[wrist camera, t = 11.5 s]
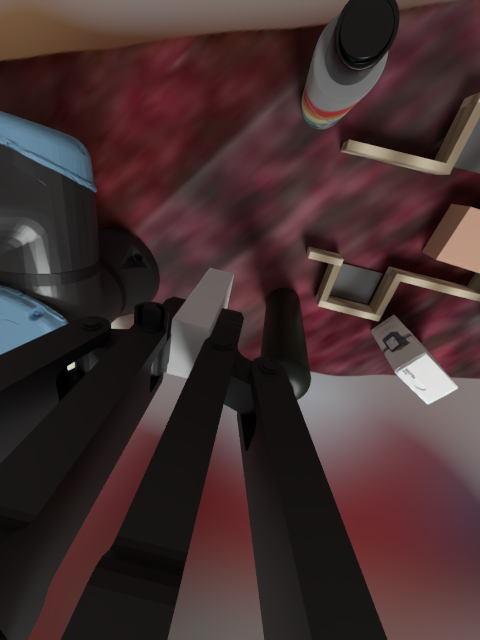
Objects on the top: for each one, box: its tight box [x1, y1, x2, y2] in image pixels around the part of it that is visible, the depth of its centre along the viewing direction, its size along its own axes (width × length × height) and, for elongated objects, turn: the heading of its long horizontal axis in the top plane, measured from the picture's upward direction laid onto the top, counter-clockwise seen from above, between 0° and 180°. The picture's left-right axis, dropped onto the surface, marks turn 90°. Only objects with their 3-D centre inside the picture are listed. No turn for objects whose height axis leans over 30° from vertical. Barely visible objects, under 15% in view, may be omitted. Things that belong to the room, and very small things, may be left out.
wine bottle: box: [260, 288, 311, 400], centre depth 35 cm, size 6×6×30 cm
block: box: [422, 204, 480, 273], centre depth 37 cm, size 7×7×4 cm
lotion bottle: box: [301, 0, 399, 129], centre depth 26 cm, size 6×6×20 cm
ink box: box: [371, 315, 458, 404], centre depth 43 cm, size 8×5×12 cm, turn 48°
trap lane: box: [306, 92, 480, 322], centre depth 38 cm, size 26×29×4 cm
